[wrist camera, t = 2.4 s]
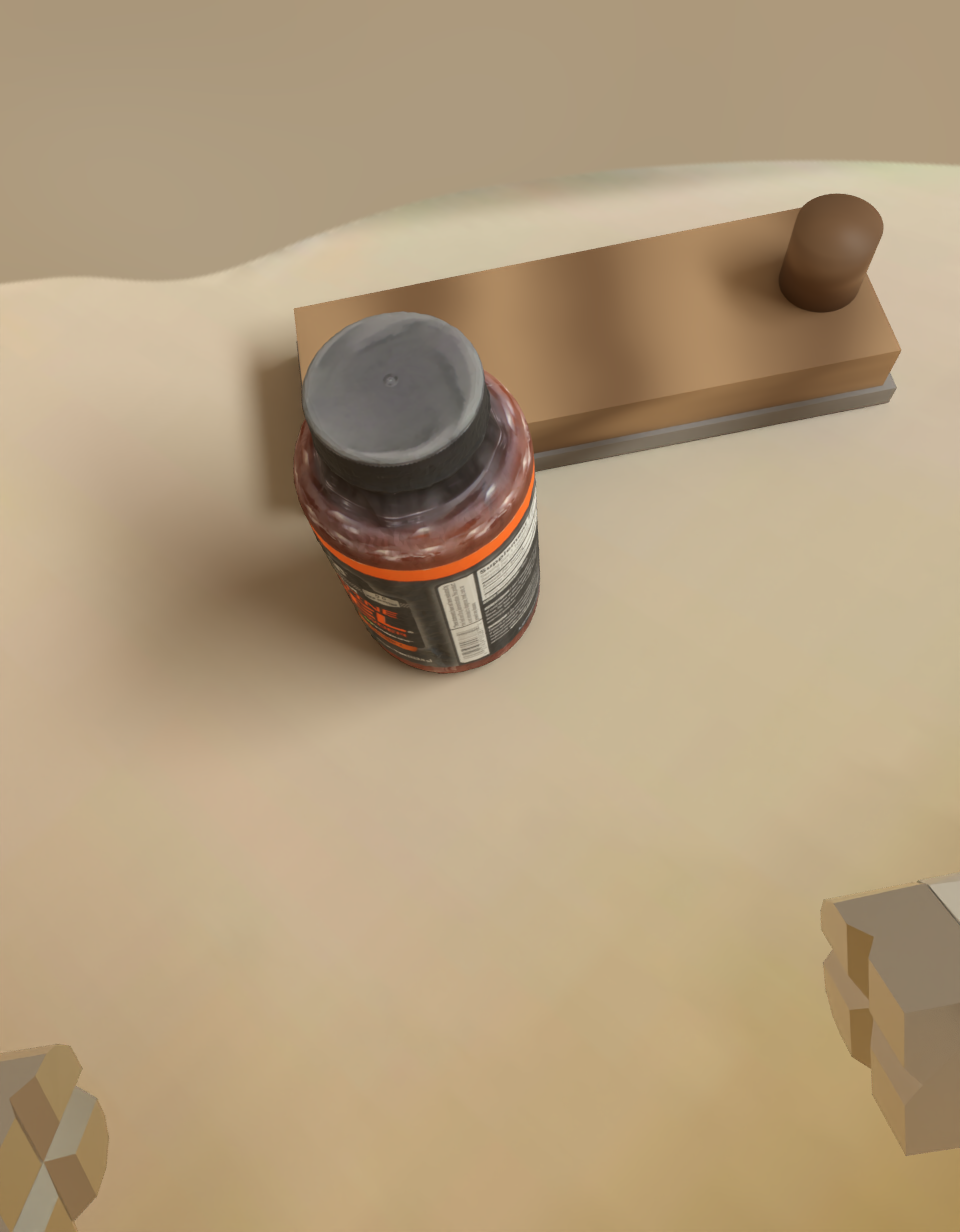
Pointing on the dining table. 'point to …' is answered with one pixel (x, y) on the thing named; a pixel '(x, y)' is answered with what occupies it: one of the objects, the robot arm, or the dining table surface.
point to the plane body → (667, 330)
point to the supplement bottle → (421, 490)
